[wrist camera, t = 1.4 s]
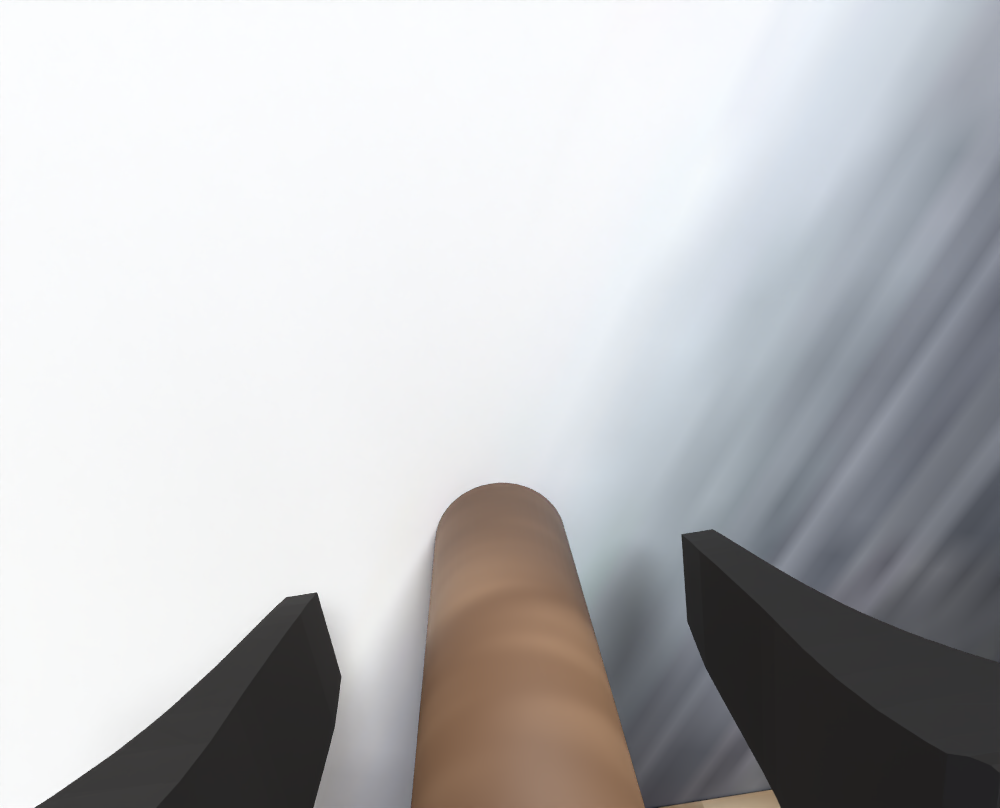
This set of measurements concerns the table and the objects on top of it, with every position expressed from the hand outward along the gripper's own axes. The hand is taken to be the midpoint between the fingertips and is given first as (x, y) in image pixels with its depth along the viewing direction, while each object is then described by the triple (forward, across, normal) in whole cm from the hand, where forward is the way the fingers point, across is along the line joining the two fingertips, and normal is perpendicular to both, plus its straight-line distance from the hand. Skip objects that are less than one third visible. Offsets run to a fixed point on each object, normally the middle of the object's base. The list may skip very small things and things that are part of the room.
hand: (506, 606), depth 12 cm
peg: (+2, 0, 0) cm, 2 cm away
